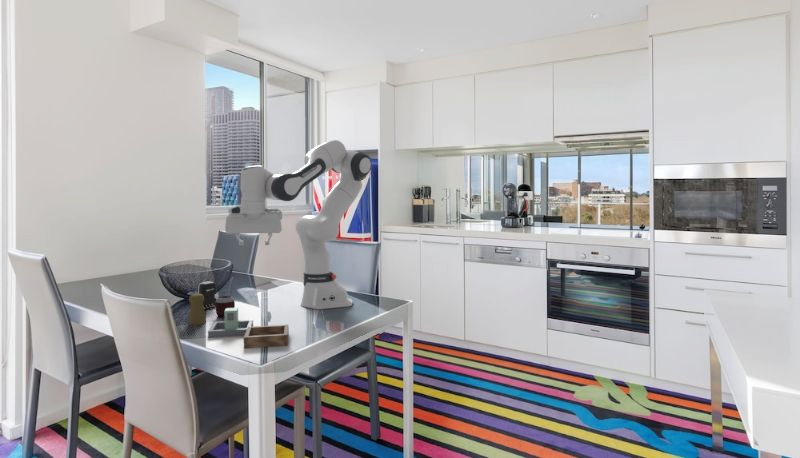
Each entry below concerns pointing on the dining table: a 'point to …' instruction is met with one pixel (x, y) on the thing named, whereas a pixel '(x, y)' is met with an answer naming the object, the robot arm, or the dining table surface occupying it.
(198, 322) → the olive waisted shaker
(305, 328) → the dining table surface
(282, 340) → the shallow wooden tray
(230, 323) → the plug
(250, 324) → the shallow grey tray
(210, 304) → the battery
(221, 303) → the mate gourd
